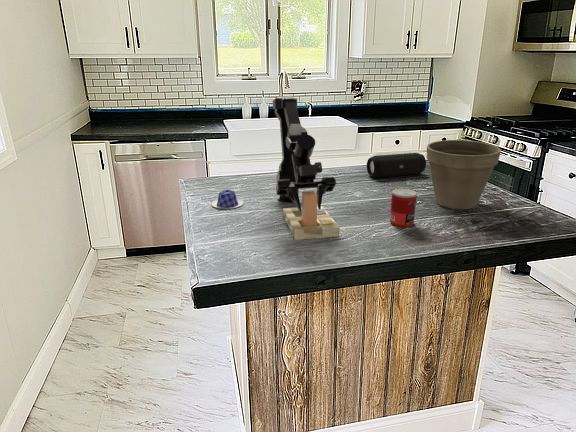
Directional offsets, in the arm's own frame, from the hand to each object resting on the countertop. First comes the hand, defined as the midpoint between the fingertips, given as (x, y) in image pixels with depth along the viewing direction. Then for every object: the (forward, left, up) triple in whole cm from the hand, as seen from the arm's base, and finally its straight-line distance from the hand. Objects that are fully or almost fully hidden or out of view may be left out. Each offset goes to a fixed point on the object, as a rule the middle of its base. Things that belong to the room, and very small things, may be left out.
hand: (310, 209), depth 139 cm
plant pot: (+40, +48, -8) cm, 63 cm away
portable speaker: (+12, +78, -8) cm, 79 cm away
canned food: (+25, +20, -8) cm, 33 cm away
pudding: (-39, +14, -9) cm, 42 cm away
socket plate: (-2, +6, -8) cm, 10 cm away
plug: (-1, +1, -8) cm, 8 cm away
